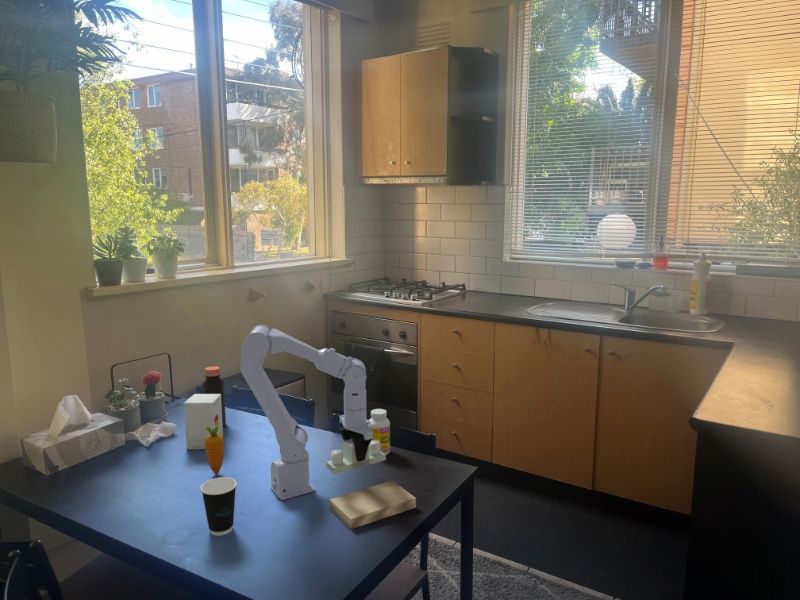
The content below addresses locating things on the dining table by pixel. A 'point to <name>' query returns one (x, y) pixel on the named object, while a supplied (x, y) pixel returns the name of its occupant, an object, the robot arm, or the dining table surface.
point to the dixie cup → (219, 504)
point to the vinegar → (215, 386)
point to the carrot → (214, 449)
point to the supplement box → (202, 418)
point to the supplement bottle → (380, 429)
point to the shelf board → (372, 504)
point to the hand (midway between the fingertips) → (355, 456)
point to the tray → (353, 457)
